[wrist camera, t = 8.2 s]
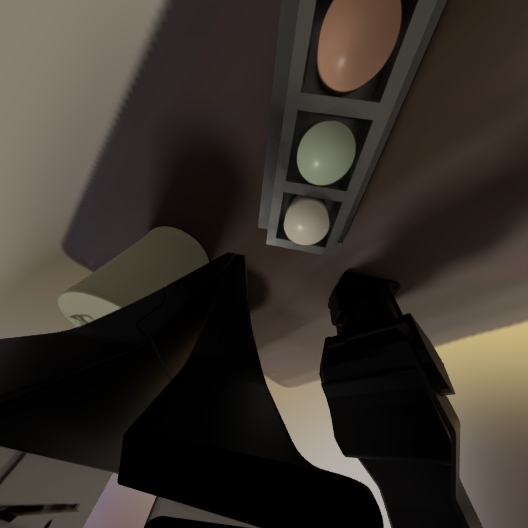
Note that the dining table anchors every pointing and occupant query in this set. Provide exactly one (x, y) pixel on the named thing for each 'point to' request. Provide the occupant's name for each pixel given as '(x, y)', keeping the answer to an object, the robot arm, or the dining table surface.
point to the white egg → (306, 220)
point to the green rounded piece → (326, 152)
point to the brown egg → (356, 42)
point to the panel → (332, 115)
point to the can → (133, 274)
